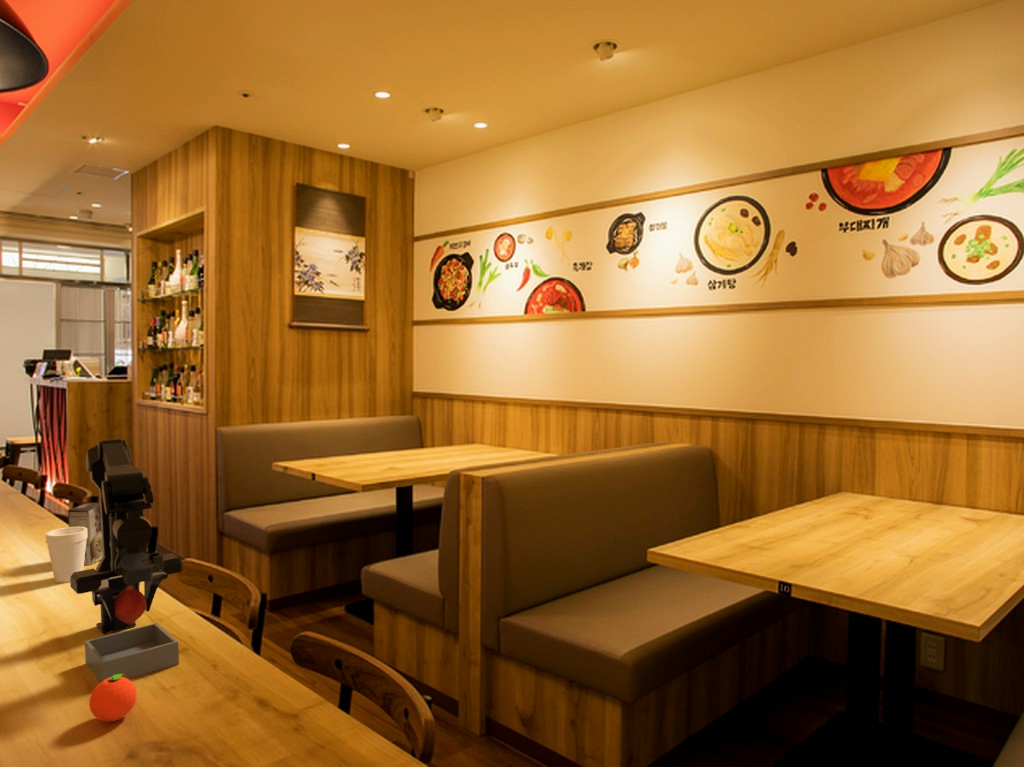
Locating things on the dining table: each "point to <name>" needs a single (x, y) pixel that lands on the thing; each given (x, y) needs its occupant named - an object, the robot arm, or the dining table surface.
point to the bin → (131, 652)
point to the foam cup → (66, 551)
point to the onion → (129, 605)
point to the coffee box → (89, 529)
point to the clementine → (113, 698)
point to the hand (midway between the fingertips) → (130, 615)
